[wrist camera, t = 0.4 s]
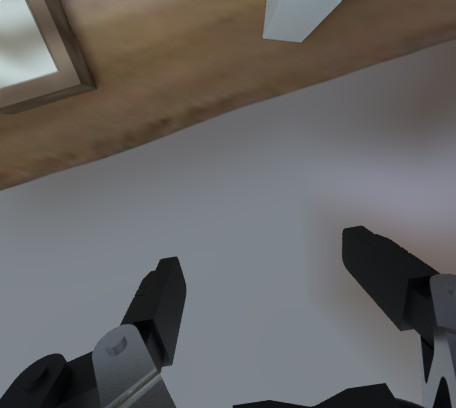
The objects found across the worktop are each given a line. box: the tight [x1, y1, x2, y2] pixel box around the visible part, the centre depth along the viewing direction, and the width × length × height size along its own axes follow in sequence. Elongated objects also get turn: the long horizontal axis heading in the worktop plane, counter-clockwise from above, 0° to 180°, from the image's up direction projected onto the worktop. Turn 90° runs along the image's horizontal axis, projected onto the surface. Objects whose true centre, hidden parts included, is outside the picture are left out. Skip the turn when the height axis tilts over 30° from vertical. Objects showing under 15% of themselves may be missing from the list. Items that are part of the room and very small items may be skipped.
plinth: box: [0, 0, 96, 114], centre depth 29 cm, size 14×14×4 cm
